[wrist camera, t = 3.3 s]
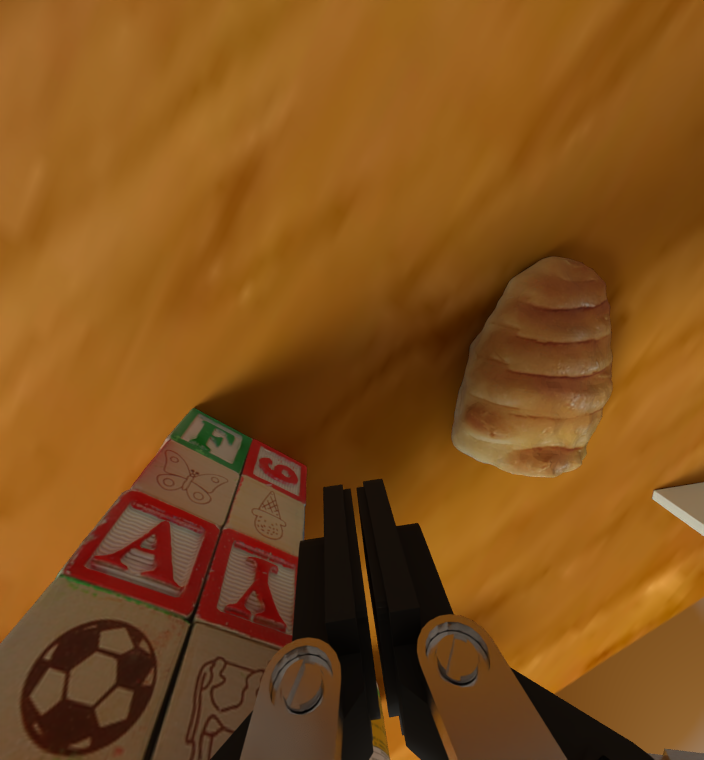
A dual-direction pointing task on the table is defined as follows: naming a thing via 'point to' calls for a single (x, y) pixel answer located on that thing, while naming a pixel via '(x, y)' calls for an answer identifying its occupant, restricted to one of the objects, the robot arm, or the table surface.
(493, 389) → the pastry
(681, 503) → the frame
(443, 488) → the table surface
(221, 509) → the stack of blocks
